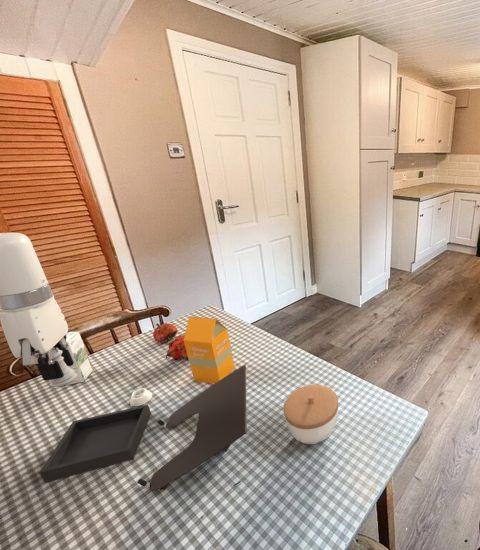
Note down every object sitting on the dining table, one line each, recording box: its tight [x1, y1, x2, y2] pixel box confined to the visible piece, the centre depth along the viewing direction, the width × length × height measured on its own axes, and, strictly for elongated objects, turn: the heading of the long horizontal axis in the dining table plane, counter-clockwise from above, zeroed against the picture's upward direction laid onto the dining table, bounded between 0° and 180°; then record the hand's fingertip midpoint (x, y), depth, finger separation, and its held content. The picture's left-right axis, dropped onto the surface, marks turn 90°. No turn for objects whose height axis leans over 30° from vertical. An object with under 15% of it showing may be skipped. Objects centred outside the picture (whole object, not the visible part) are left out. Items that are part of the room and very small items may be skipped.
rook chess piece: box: [41, 348, 77, 388], centre depth 66 cm, size 4×4×8 cm
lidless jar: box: [129, 387, 153, 407], centre depth 83 cm, size 5×3×5 cm
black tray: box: [38, 404, 152, 484], centre depth 70 cm, size 16×14×3 cm
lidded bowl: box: [283, 383, 339, 445], centre depth 72 cm, size 13×13×11 cm
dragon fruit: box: [165, 332, 188, 362], centre depth 101 cm, size 8×8×12 cm
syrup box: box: [66, 331, 94, 386], centre depth 89 cm, size 6×6×14 cm
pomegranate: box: [152, 322, 178, 344], centre depth 108 cm, size 7×7×10 cm
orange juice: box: [184, 316, 236, 384], centre depth 90 cm, size 8×9×20 cm
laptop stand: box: [137, 364, 248, 493], centre depth 71 cm, size 23×23×9 cm
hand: (59, 371), depth 66 cm, fingers closed on rook chess piece, 3 cm apart
